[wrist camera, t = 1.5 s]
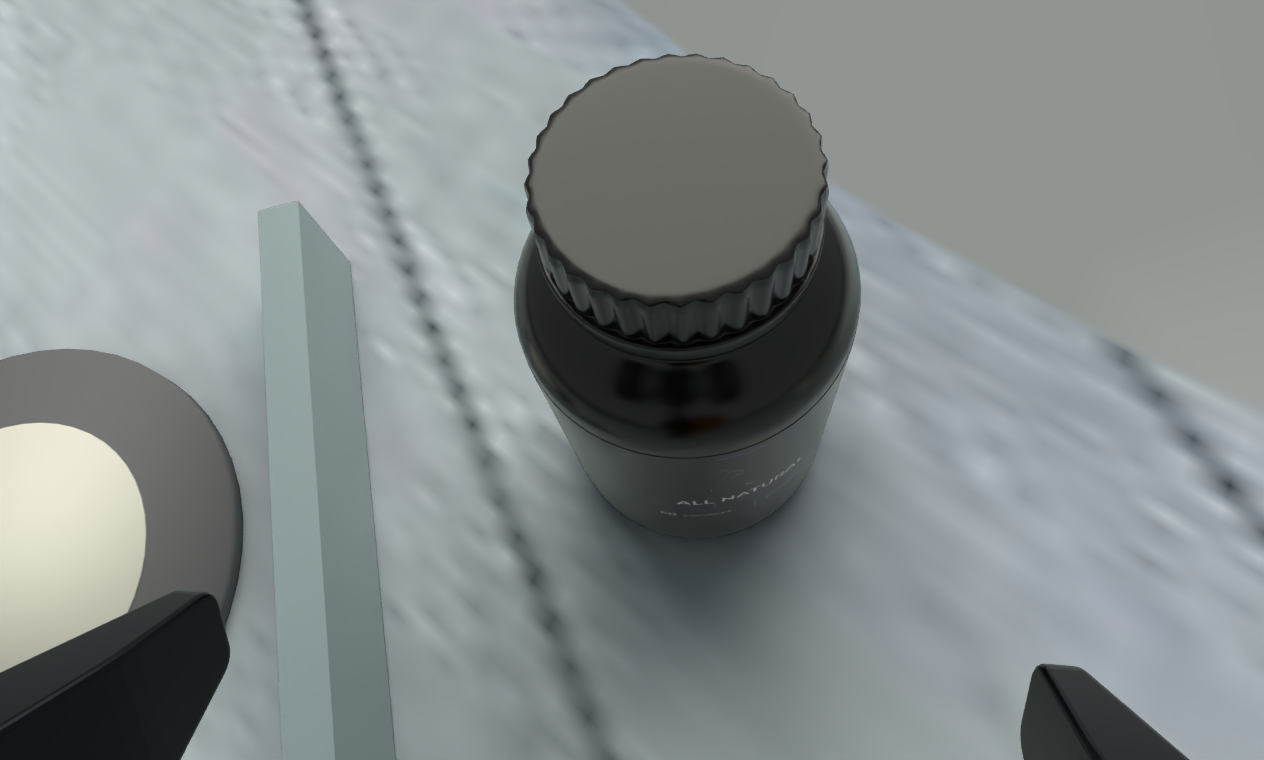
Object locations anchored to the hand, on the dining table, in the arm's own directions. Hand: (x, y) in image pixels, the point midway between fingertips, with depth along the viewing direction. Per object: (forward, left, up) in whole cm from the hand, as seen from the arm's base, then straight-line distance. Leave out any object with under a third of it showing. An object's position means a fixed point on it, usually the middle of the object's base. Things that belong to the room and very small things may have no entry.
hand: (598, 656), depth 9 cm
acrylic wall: (0, +11, -13) cm, 17 cm away
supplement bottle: (+6, +3, -13) cm, 15 cm away
